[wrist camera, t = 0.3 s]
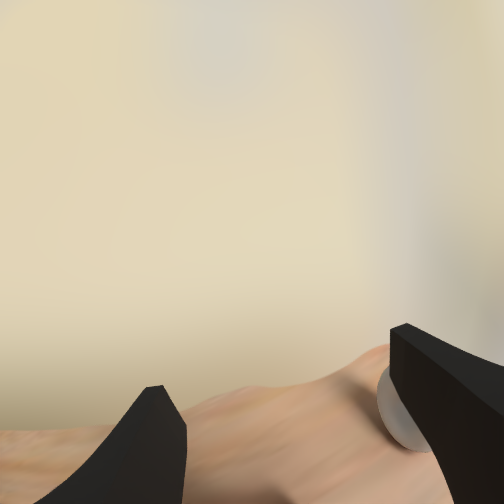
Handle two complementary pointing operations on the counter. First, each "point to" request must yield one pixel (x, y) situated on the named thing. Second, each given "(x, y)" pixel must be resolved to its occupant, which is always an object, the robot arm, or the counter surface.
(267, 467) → the counter surface
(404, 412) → the donut
